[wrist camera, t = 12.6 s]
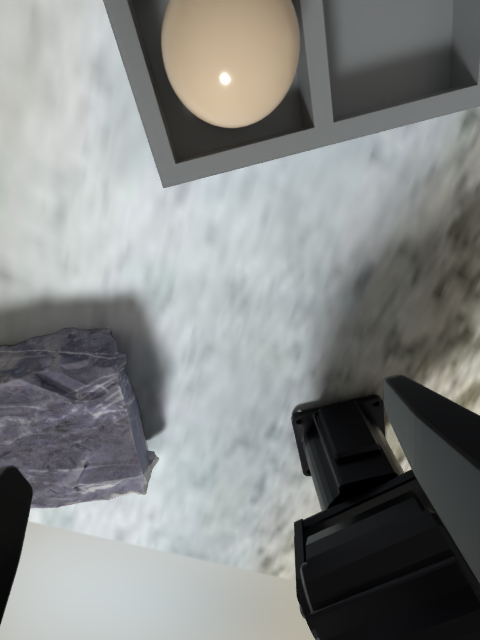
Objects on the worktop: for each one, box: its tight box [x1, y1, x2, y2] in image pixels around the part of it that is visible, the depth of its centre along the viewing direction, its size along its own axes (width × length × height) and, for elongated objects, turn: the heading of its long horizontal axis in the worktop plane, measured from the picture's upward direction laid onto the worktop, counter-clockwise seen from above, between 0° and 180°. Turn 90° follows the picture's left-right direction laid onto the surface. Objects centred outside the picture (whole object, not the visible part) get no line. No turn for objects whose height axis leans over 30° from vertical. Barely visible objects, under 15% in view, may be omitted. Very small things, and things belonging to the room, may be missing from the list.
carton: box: [103, 0, 480, 188], centre depth 15 cm, size 8×21×2 cm, turn 103°
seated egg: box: [161, 0, 300, 128], centre depth 13 cm, size 4×4×7 cm
